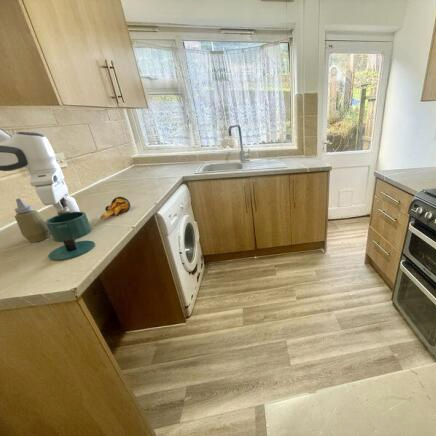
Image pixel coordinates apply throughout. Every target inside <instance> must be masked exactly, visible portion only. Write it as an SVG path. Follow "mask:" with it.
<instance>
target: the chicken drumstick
mask: <svg viewBox="0 0 436 436" xmlns="http://www.w3.org/2000/svg"><path fill="white" fill-rule="evenodd" d="M130 209H131V203H130V201H129V200H128V198H126V197H124V196H117V197H114V198H113V199H112V200H111V204H109V205H107V206H105V209H104V210H105V212H104V213H103V214H102V215H101V216H100V220H105V219H107V218H109V217H110V216H113V217H118V216H119V215H118V214H122V213H128V212H129V211H130Z"/></svg>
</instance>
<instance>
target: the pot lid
mask: <svg viewBox="0 0 436 436" xmlns="http://www.w3.org/2000/svg"><path fill="white" fill-rule="evenodd" d="M62 241H63V242H62V243H63V245H61V246H59V247H57V248H55V249H53V250H52V251H50V252H49V253H48V255H47V257H48V259H49V260H51V261H55V262H56V261H57V262H59V261H66V260H71V259H74V258H77V257H80V256H83V255H86V254H87V253H89V252H91V251H92V250H93V249H94V248H95V247H96V242H95V241H93V240H79V241H76V239H74V238H73V237H67V238H64V239H63V240H62Z"/></svg>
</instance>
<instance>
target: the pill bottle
mask: <svg viewBox="0 0 436 436" xmlns="http://www.w3.org/2000/svg"><path fill="white" fill-rule="evenodd" d="M65 199H66V200H67V201H66V203H67V206H68V208H69V210H71V212H81V210H80V208H79V206H78V204H77V202H76V199H75V198H74V197H72V196H70V194H69V191H68V192H67V193H66V194H65ZM52 206H53V208H54V210H55V212H56V214H57V213H58V211H57V209H56V208H55V206H54V205H52Z"/></svg>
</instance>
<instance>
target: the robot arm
mask: <svg viewBox="0 0 436 436" xmlns="http://www.w3.org/2000/svg"><path fill="white" fill-rule="evenodd" d="M56 158H57V156H56V153H55V151H54V149H53V146H52V145H51V143H50V141H49V139H48V138H47V137H46V135H43V134H42V133H39V132H32V131H17V132H15V133H14V134H13V135H11V134H10V133H8V132H6V131H5V130H3V129H2V128H0V172H13V171H17V170H20V169H24V168H25V169H28V172H29V174H30V179H29V184H30V186H31V187H34V190H35V193H36V194H37V196H38V198H39V200H40V201H41V203H42V204H43V205H44V206H53V205H54V206H55V208H56V209H57V211H63V210H64V208H63V206H62V205H61V204H60V200H61V199H65V194H66V193H67V192H68V193H69V188H68V185H67V183H66V181H65V175H64V173H63V171H62V168H61V165H60V164H59V163H58V162H57V159H56ZM54 206H53V207H54ZM55 208H54V209H55Z"/></svg>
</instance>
